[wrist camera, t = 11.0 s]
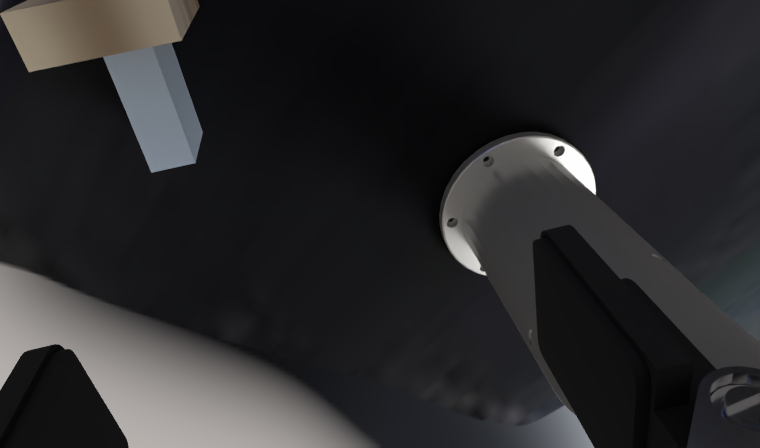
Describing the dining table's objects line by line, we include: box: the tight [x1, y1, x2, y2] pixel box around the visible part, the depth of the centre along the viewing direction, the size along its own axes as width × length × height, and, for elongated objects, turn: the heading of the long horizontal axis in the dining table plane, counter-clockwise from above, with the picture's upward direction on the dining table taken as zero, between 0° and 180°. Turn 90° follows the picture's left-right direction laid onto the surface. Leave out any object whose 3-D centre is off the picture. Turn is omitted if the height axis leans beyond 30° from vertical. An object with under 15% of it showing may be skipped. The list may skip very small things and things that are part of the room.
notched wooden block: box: [0, 0, 200, 72], centre depth 29 cm, size 7×3×9 cm, turn 99°
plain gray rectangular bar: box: [103, 43, 203, 173], centre depth 31 cm, size 18×3×5 cm, turn 9°
